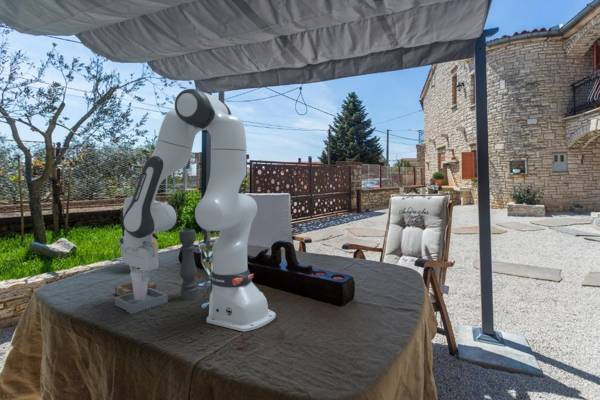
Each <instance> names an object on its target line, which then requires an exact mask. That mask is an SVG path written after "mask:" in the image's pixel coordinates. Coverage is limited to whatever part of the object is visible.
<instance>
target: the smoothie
mask: <svg viewBox="0 0 600 400" xmlns="http://www.w3.org/2000/svg"><path fill="white" fill-rule="evenodd" d="M143 274H144V272H143V269H141V268H140V269H137V270H133V271H130V274H129V276H131V277H130V278H131V282H132V285H133V292H134V299H135V300H142V299H145V298H146V294H147V286H148V282H149V281H143V280H142V276H143Z"/></svg>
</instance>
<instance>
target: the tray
mask: <svg viewBox="0 0 600 400" xmlns="http://www.w3.org/2000/svg"><path fill="white" fill-rule="evenodd" d="M168 296H169V295H168V294H167V293H164V292H162V291H159V290H157V289H156V290H155V289H152V288H147V294H146V298H145V299H142V300H135V299H134V292H133V293H129V294H126V295H122V296H118V295H117V296H115V297H114V306H115V307H118V308H119V307H120V309H121V308H122V309H121V310H123V309H124V311H125V310H126V311H125V312H127V313H129V314H131V315H134V314H137V313H139V311H140V312H143V311H145V309H146V310H149V309H151V307H152V308H154V306H155V307H158V306H161V305H164V304H168V302H169V297H168ZM157 305H158V306H157ZM148 308H149V309H148ZM142 310H143V311H142ZM136 312H137V313H136ZM133 313H134V314H133Z"/></svg>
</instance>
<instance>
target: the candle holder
mask: <svg viewBox="0 0 600 400" xmlns="http://www.w3.org/2000/svg"><path fill="white" fill-rule="evenodd" d="M178 236H179V239H178V240H179V242H180V243H181V246H180V251H181V252H182V261H181V265H180V271H179V275H180V277H181V279H182V283H181V285H180V287H181V288H180V290H179V291H180V299H181V300H182V301H191V300H194V299H197V298H198V297H199V288H198V286H197V285H198V283H197V281H196V277H197V276H198V269H197V266H196V262H195V257H194V255H195V254H194V250H195V249H196V246H195V245H194V244H195V241H196V239H197V238H196V237H197V236H196V230H195V229H181V230H179V231H178Z"/></svg>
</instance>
